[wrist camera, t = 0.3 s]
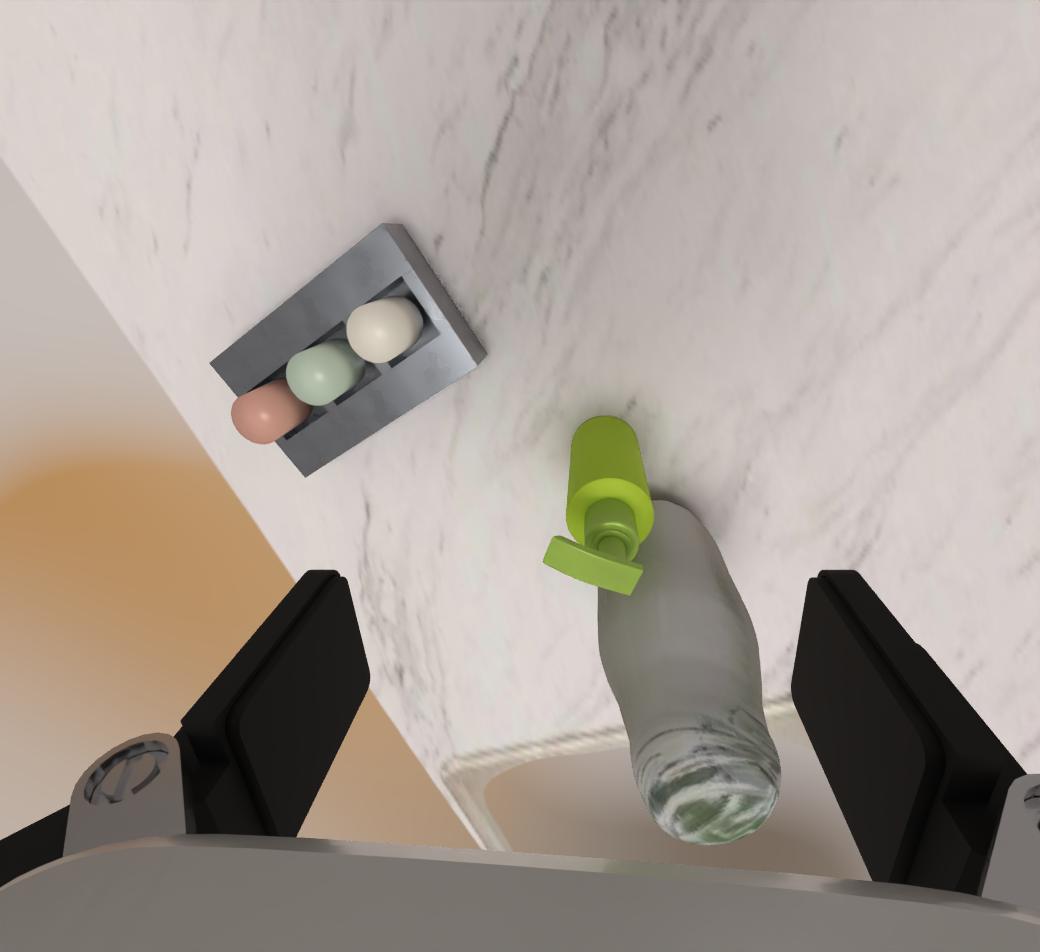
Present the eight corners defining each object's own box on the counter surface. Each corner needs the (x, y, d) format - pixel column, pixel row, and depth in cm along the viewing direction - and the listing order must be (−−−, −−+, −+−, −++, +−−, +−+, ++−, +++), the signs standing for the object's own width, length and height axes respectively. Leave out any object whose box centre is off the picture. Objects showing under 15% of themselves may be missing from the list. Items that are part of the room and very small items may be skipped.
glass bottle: (671, 589, 53) (746, 912, 28) (579, 546, 52) (571, 840, 27) (728, 511, 49) (877, 809, 24) (629, 464, 48) (674, 720, 23)
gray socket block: (241, 351, 48) (209, 363, 44) (402, 224, 42) (382, 223, 38) (327, 458, 52) (305, 477, 48) (487, 354, 46) (477, 366, 42)
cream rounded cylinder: (362, 314, 41) (335, 324, 37) (402, 285, 40) (378, 291, 36) (394, 358, 42) (371, 373, 38) (433, 331, 41) (414, 343, 37)
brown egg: (257, 393, 45) (220, 410, 41) (290, 368, 44) (256, 383, 39) (289, 431, 46) (256, 453, 42) (322, 408, 45) (292, 428, 40)
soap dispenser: (574, 402, 46) (565, 510, 28) (648, 428, 47) (686, 553, 29) (551, 460, 49) (530, 594, 31) (622, 485, 49) (641, 632, 31)
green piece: (307, 355, 43) (275, 369, 39) (343, 328, 42) (314, 340, 37) (339, 396, 44) (311, 415, 40) (375, 371, 43) (350, 387, 39)
